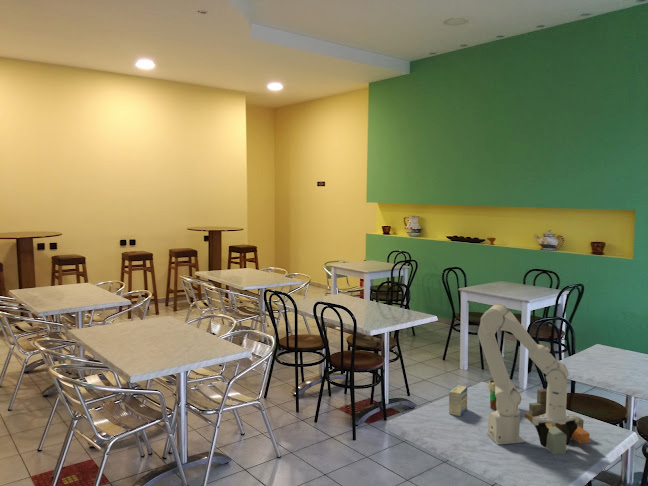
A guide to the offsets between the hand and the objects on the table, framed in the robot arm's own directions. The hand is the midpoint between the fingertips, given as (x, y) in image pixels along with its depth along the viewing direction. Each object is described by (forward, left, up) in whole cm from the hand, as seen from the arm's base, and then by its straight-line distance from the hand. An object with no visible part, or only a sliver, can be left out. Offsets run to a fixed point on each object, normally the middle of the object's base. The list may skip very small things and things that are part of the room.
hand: (554, 444), depth 163 cm
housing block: (0, 0, -2) cm, 2 cm away
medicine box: (-19, +31, -2) cm, 36 cm away
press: (+9, +14, -1) cm, 17 cm away
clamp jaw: (+9, +3, 0) cm, 9 cm away
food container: (-3, +33, -2) cm, 33 cm away
